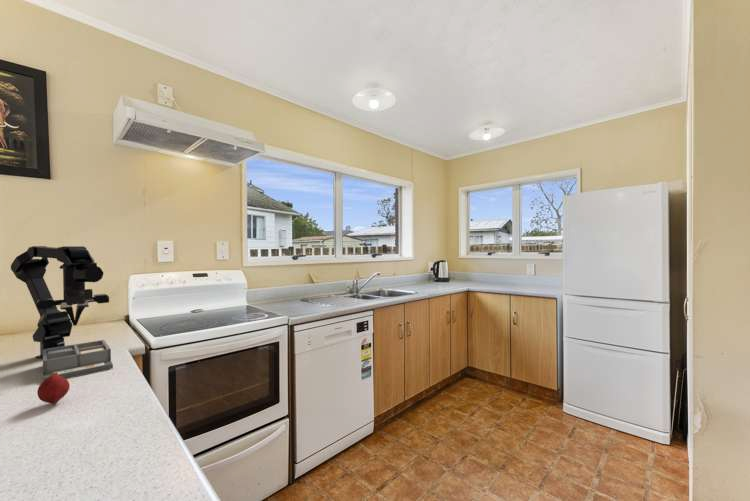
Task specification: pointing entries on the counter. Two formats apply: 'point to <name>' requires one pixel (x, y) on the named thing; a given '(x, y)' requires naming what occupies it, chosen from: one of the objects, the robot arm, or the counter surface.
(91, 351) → the sand key
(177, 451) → the counter surface
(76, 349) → the grey compartment tray
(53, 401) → the onion
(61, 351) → the slate key
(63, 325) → the robot arm
